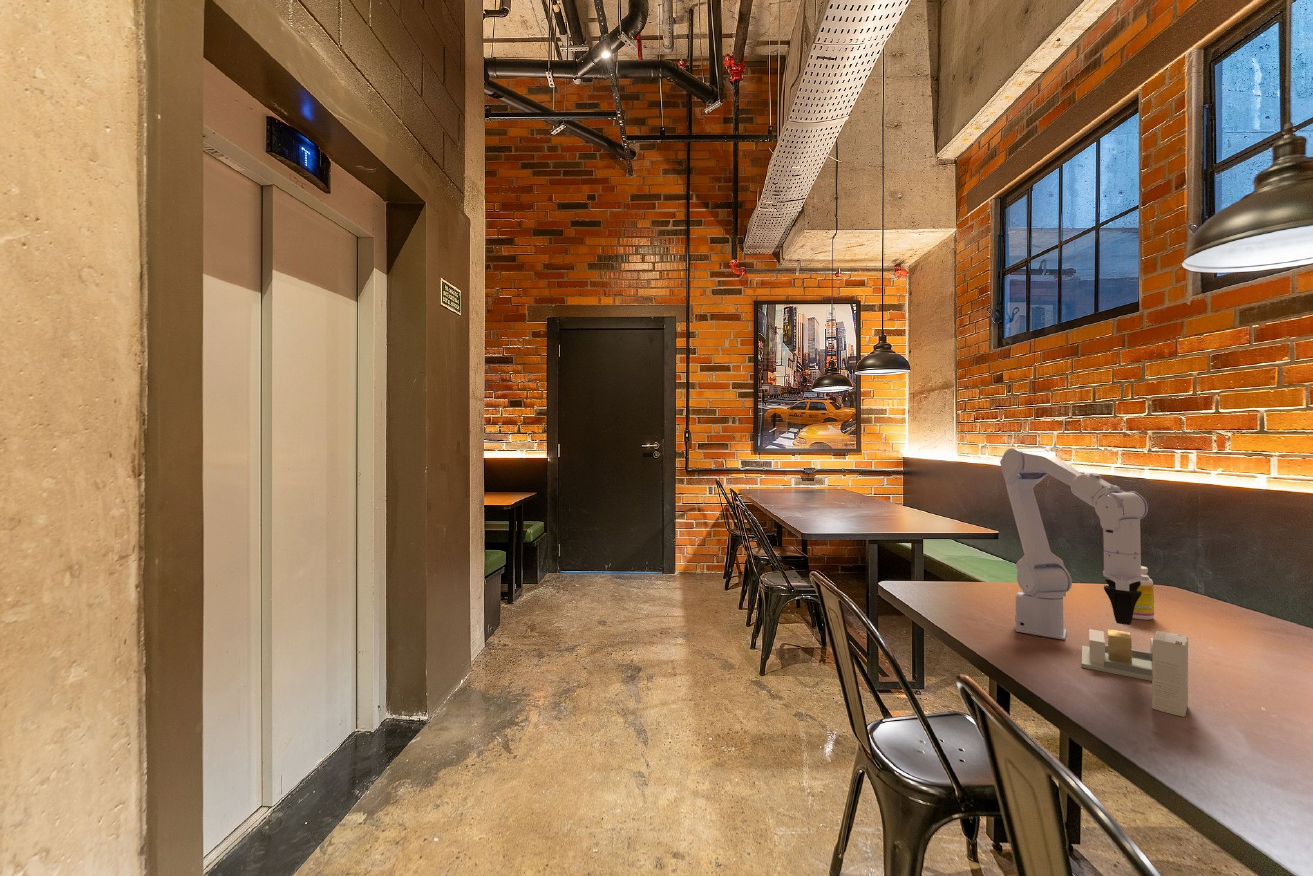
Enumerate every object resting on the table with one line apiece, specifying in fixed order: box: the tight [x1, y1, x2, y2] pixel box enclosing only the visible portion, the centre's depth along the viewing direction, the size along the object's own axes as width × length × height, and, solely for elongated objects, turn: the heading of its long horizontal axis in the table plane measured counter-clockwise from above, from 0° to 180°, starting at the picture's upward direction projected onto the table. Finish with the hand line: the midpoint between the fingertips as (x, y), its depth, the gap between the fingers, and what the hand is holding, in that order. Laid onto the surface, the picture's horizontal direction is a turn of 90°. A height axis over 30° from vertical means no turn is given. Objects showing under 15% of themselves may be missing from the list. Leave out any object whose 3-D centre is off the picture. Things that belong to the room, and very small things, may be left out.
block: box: [1107, 628, 1133, 665], centre depth 110 cm, size 4×4×6 cm
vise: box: [1081, 628, 1152, 682], centre depth 110 cm, size 14×12×5 cm
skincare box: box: [1151, 630, 1189, 718], centre depth 93 cm, size 6×4×12 cm
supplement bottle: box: [1132, 565, 1155, 621], centre depth 140 cm, size 7×7×13 cm
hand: (1123, 619), depth 110 cm, fingers open, 7 cm apart
